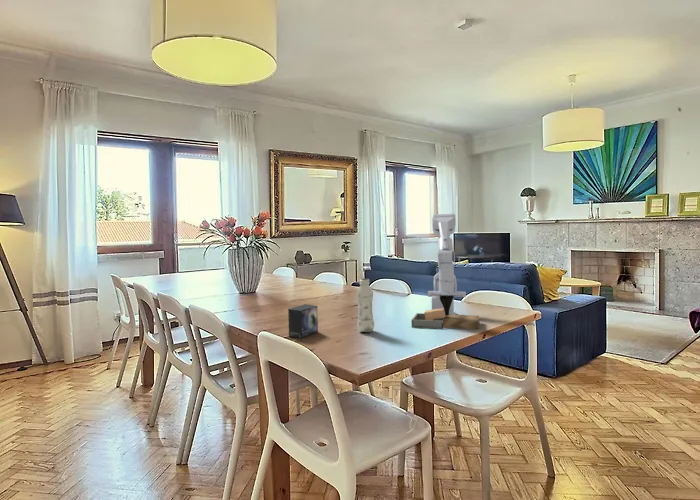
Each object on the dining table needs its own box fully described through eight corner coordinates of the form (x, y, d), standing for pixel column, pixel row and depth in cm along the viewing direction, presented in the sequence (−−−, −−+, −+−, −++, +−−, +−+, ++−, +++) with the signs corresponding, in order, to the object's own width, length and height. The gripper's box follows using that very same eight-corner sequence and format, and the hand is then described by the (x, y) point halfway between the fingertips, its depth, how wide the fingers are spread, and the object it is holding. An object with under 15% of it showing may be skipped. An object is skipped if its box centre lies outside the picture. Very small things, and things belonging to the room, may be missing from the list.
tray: (411, 327, 170) (411, 320, 170) (416, 319, 182) (416, 313, 182) (441, 328, 166) (441, 321, 166) (444, 320, 179) (444, 314, 178)
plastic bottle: (376, 330, 167) (375, 278, 166) (371, 334, 160) (370, 280, 159) (360, 329, 169) (359, 278, 168) (355, 333, 163) (353, 280, 161)
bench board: (443, 327, 168) (443, 319, 167) (445, 321, 177) (445, 314, 177) (478, 329, 164) (478, 321, 163) (479, 323, 173) (479, 315, 173)
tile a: (433, 319, 171) (431, 311, 171) (434, 316, 175) (433, 309, 175) (444, 317, 170) (443, 310, 170) (445, 315, 174) (444, 308, 174)
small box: (302, 338, 158) (300, 310, 157) (288, 336, 161) (286, 308, 161) (319, 332, 167) (318, 305, 166) (305, 330, 170) (304, 303, 169)
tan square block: (433, 323, 171) (426, 323, 172) (435, 320, 176) (427, 321, 177) (431, 311, 171) (424, 312, 172) (433, 309, 176) (425, 310, 177)
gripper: (426, 281, 169) (427, 316, 170) (464, 282, 165) (465, 317, 166) (428, 279, 176) (429, 312, 177) (465, 279, 172) (466, 313, 172)
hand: (447, 314), depth 172 cm, fingers closed
